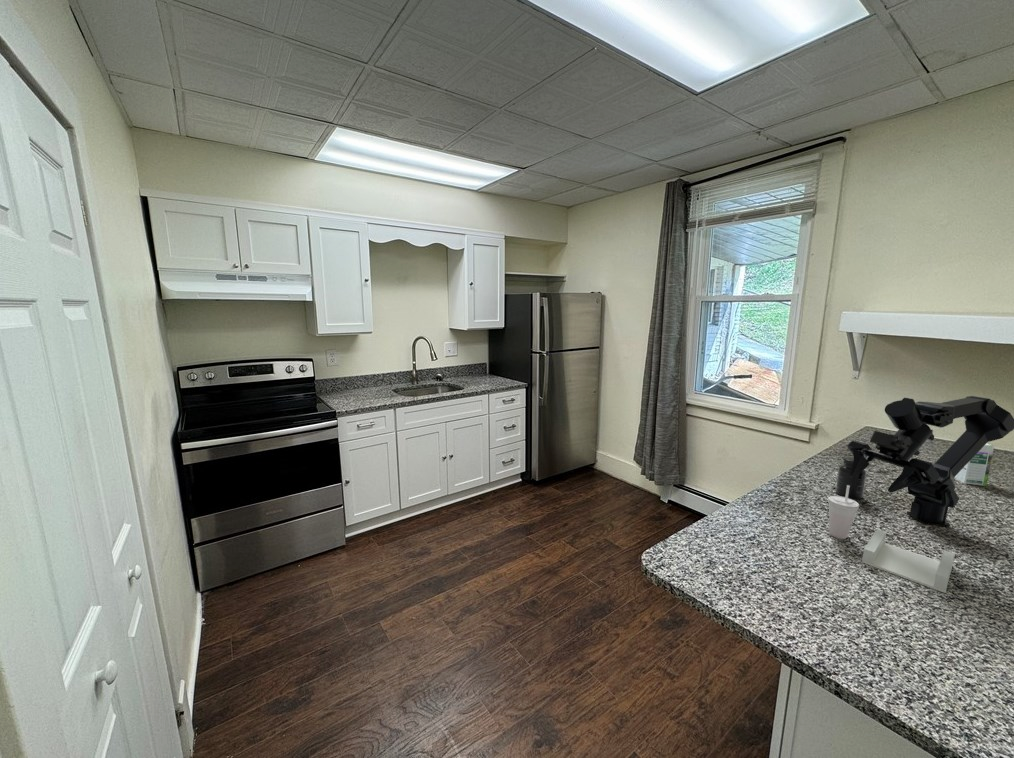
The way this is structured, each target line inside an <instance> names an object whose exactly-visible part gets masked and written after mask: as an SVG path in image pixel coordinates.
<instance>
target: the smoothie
mask: <svg viewBox="0 0 1014 758" xmlns="http://www.w3.org/2000/svg"><path fill="white" fill-rule="evenodd" d="M849 488H850V486H849V485H847V489H846V495H845V497H844V496H841V495H831V496H828V499H827V503H828V509H829V510H828V512H829V513H828V519H829V527H828V529H829V532H828V533H829V535H831V536H832V537H834V538H837V539H842V540H846V538H847V539H848V537H849V534H850V531H851V528H852V526H853V522H854V519H855V516H856V513H857V511H858V510H859V509H860V504H859V503H858V502H857V501H856V500H855V499H852V498H848V494H849Z"/></svg>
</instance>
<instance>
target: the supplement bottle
mask: <svg viewBox="0 0 1014 758" xmlns="http://www.w3.org/2000/svg"><path fill="white" fill-rule="evenodd" d="M853 460H854V456H853V457H851V456H844V457H843V462H842V465H840V466H839V467H838V470H837V478H836V484H835V485H836V486H835V492H836V493H837V494H838V496H841V497H845V495H846V489H847V485H849V486H850V488H849V494H848V498H849V499H852V500H859V499H862V498H863V497H864V492H865V491H864V490H865V486H866V485H865V484H866V477H867V471H866V470H865V469H864V470H863V471H862V472H860V473H859V474H858V475H857V476H855V477H854V478H851V477H850V473H851V469H852V465H853Z"/></svg>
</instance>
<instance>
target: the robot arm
mask: <svg viewBox="0 0 1014 758" xmlns="http://www.w3.org/2000/svg"><path fill="white" fill-rule="evenodd" d="M884 413H885V414H886V416H887V418H888V419H889V420H890V422H891V424H892V425H893V427H894V428H896V429H897V431H896V432H895V433H894V434H891V433H886V432H882V431H878V430H874V431H873V433H872V434H871V437H870V439H869V443H873V444H874V445H875V448H876V450H878V451H875V450H872V448H871V446H870V445H869V444H868V443H865V442H861V441H858V440H851V441H850V442H849V443H847V445H846V448H847V449H848V451H849V452H850V453H851V454H852V456H853V458H854V460H853V465H852V469H851V473H850V477H851V478H854V477H855V476H857V475H858V474H859V473H860V472H862V471H863V470H865V469H866V468H868V467H869V466H870V463H869V462H872V461H873V460H874V459H875V460H877V461H881V462H884V463H887V464H890V465H893V466H896V467H900V468H902V471H901V473H900V474H899V475H898V476H897V477H896V479H894V481H893V482H892V483H891V484H890V485H889V487H888V488H887V491H888V493H894V492H897V491H900V490H903V489H906V488H907V494H908V495H912V496H914V497H913V500H912V501H911V506H910V509H909V510H910V511H906V514H907V515H909V516H910V517H912V518H914V519H915V520H916V521H918V522H920V523H921V524H923V525H932V526H933V525H934V526H943V527H950V526H951V523H949V522H947V521H946V520H947V515H948V510H949V508H955V507H956V506H957V505H958V504H959V501H960V498H959V496H958V494H957V492H956V490H955V489H956V484H955V483H956V482H955V476H956V475H957V474H958V473H959V472H960V471H961V470H962V468H963V467H964V466H965V465H966V464H967V463H968V462H969V461H970V460H971V459H972V458H973V457H974V456H975V455H976V454H977V453H978V452H979V451H980V450H981V449H982V447H983V446H984V445H985V444H986V443H990V442H994V441H997V440H1001V439H1003V438H1004V437H1006V436H1007V435H1008V434H1009V433H1011V432H1013V431H1014V417H1013V415H1012V413H1011V412H1009V411H1008V410H1007V409H1004V408H1003V407H1002V406H999V405H998V404H997V403H996V401H995V400H994V399H991V398H988V397H982V396H975V395H970V396H966V397H965V398H959V399H953V400H948V401H944V402H935V401H933V402H932V401H917V402H916V401H915V400H914V398H909V397H903V398H902V399H901V400H895V401H892V402H890V403H888V404H886V405H885V407H884ZM959 418H964V425H965V431H964V432H963V433H962V434H961V435H960V436H959V437H958V438H957V439H956V440H955V441H954V442H953V443H952V444H951V445H950V447H949V448H948V449H946V451H945V452H944V453H943V454H941V456H940V457H939V458H937V460H936V461H935V462H934V463H932V462H929V461H927V460H923V459H919V458H916V457H913V456H917V457H918V456H919V455H920V451H919V449H920V448H921V447H922V446H923V445H924V444H925V442H926V441H928V440H929V441H934V439H935V435H934V430H933V429H931V428H930V426H932V427H935V428H945V427H948V426H949V425H951V424H953V423H954V419H959Z"/></svg>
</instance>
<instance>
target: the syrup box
mask: <svg viewBox="0 0 1014 758" xmlns="http://www.w3.org/2000/svg"><path fill="white" fill-rule="evenodd" d="M994 449H995V445H993V444H992V443H990V442H987V443H986V444H985V445H984V446H983V447H982V449H981V450H980V451H979V452H978V453H977V454H976V455H975V456H974V457H973V458H972V459H971V460H970V461H969V462H968V463H967V464H966V465H965V466H964V467H963V468H962V470H961V471H960V472H959V473H958V474H957V475H956V476H955V477H954V479H956V480H958V481H959V482H961V483H963V484H965V485H974V486H984V487H987V485H988V479H989V475H990V470H991V469H990V468H991V465H992V461H993V455H994Z"/></svg>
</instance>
